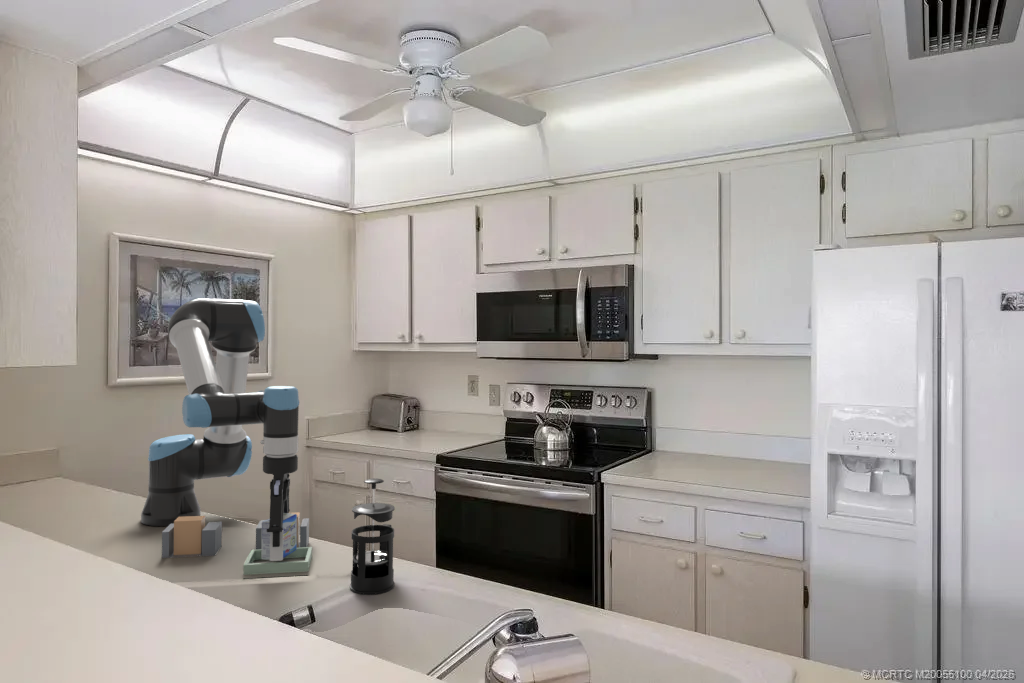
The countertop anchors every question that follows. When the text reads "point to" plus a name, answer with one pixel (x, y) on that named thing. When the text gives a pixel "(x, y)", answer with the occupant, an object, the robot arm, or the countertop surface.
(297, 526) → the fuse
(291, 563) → the tray
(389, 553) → the french press
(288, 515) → the medicine box
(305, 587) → the countertop surface
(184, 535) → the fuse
